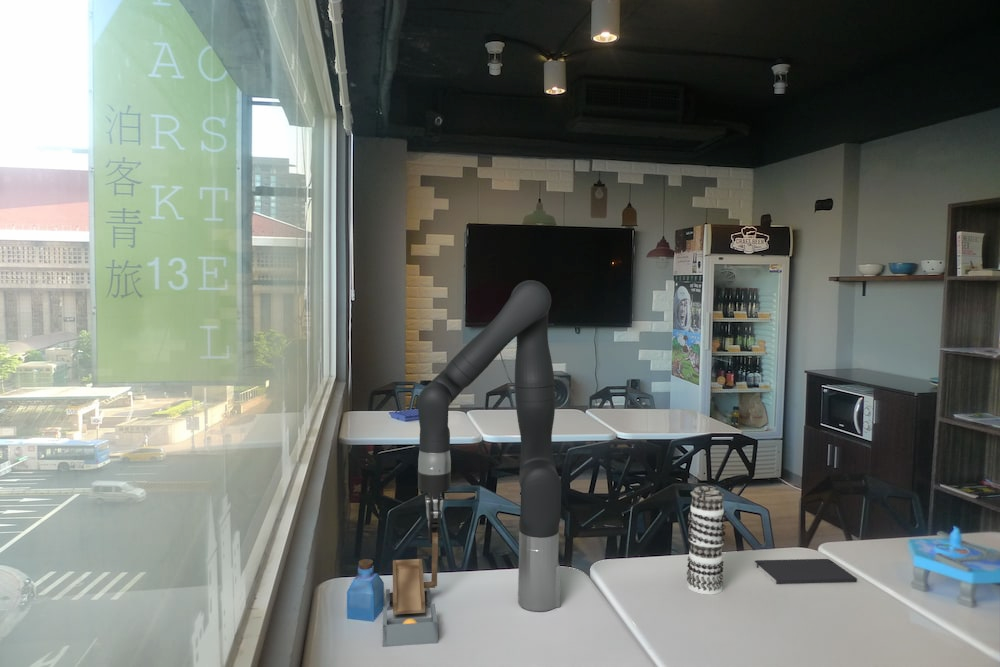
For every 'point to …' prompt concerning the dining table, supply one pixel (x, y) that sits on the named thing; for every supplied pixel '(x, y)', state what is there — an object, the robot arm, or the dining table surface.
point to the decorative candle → (706, 540)
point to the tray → (410, 630)
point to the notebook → (804, 571)
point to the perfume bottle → (365, 594)
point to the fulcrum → (390, 599)
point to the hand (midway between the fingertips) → (433, 542)
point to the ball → (409, 621)
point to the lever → (412, 582)
